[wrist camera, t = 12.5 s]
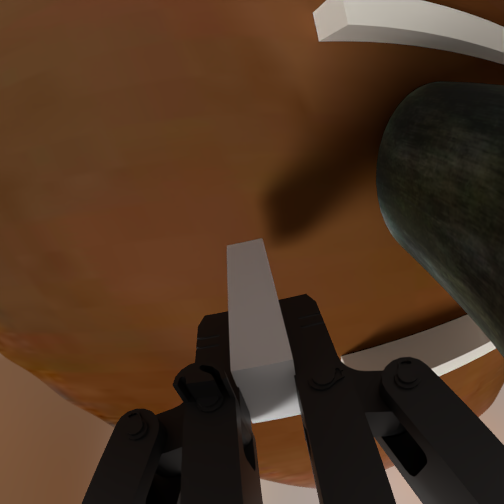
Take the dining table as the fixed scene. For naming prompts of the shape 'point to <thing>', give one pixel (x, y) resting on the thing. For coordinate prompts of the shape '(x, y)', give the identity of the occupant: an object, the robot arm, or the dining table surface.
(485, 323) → the mug
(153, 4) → the dining table surface
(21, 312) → the dining table surface
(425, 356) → the corral
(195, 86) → the dining table surface
